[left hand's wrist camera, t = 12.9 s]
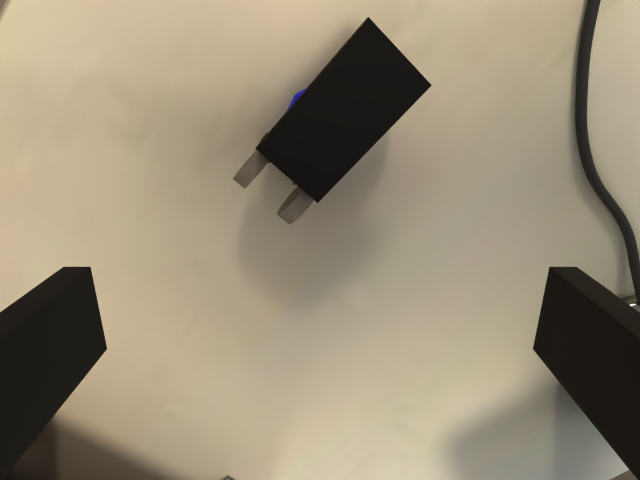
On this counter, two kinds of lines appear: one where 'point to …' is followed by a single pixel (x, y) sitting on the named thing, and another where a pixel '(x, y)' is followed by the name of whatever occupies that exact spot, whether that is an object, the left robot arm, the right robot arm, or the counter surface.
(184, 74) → the counter surface
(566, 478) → the counter surface
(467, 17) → the counter surface
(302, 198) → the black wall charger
